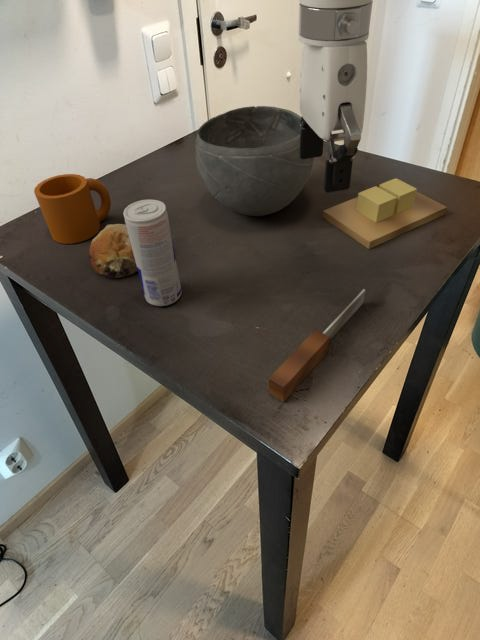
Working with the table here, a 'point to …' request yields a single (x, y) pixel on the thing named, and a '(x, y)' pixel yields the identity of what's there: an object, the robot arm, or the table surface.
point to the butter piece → (376, 204)
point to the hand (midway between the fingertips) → (322, 172)
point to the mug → (72, 207)
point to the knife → (308, 355)
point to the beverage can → (153, 251)
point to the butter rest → (400, 194)
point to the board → (386, 229)
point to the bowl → (252, 159)
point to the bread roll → (113, 252)
